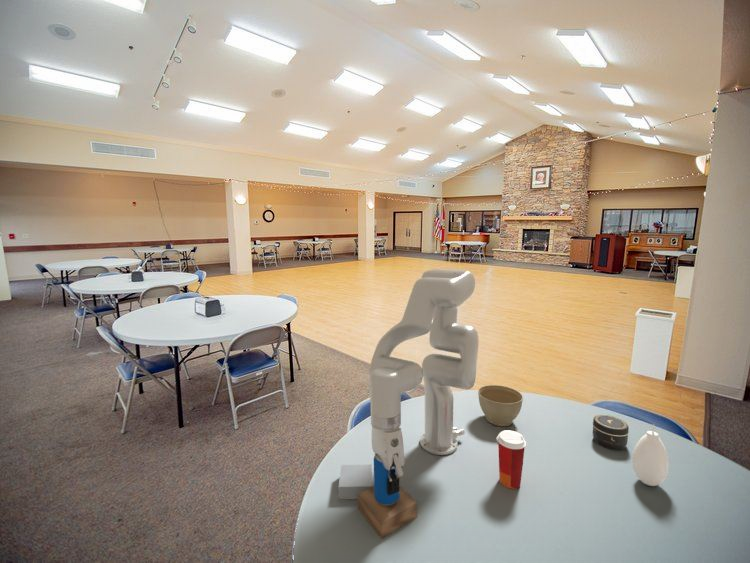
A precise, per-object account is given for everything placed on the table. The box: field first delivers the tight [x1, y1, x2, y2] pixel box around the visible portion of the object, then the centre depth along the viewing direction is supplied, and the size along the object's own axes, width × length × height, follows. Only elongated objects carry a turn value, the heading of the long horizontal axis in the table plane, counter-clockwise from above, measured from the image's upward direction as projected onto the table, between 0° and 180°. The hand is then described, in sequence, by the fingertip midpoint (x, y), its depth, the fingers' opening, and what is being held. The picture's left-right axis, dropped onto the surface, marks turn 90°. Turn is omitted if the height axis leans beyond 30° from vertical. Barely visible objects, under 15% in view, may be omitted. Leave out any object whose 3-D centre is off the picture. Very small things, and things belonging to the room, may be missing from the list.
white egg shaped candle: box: [631, 423, 670, 487], centre depth 96 cm, size 8×8×18 cm
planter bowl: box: [477, 384, 524, 427], centre depth 131 cm, size 16×16×11 cm
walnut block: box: [356, 485, 418, 539], centre depth 88 cm, size 11×11×4 cm
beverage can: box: [373, 453, 400, 505], centre depth 87 cm, size 6×6×12 cm
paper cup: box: [496, 429, 527, 490], centre depth 97 cm, size 8×8×14 cm
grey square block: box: [337, 464, 373, 500], centre depth 97 cm, size 9×9×4 cm
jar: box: [592, 414, 630, 451], centre depth 116 cm, size 10×10×8 cm
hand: (386, 482), depth 87 cm, fingers closed on beverage can, 6 cm apart
